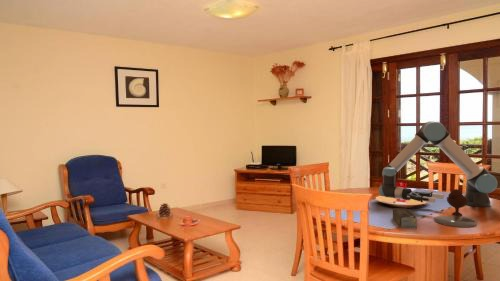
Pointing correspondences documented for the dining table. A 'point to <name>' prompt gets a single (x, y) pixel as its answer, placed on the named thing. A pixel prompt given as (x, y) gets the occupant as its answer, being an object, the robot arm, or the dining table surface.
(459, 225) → the disc
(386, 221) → the dining table surface
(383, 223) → the dining table surface
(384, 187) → the robot arm
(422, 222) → the dining table surface
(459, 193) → the ice cream bowl
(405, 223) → the dark grey rectangular block
